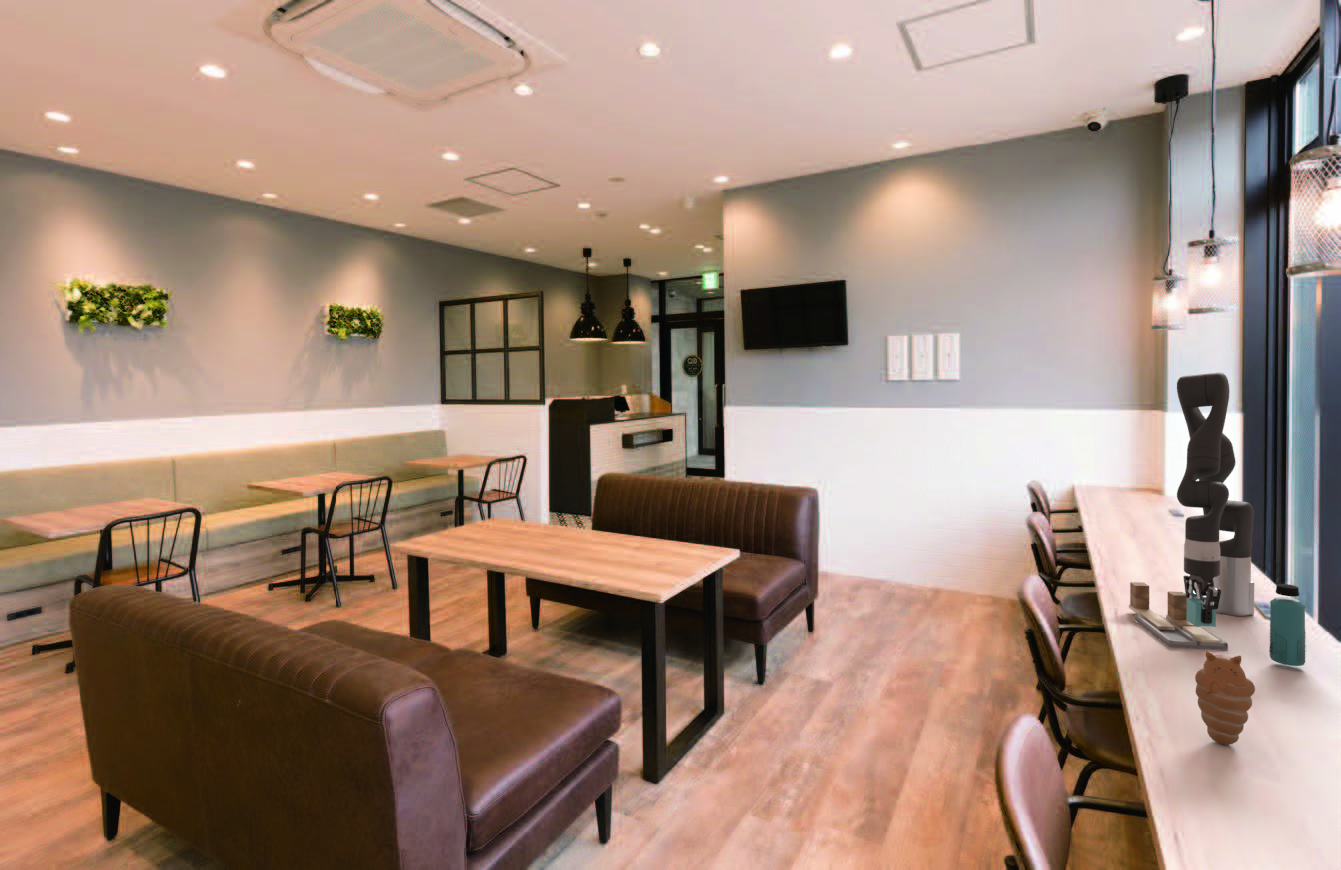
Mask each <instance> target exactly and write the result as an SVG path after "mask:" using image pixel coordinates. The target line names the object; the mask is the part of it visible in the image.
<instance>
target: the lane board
mask: <svg viewBox="0 0 1341 870" xmlns="http://www.w3.org/2000/svg"><path fill="white" fill-rule="evenodd" d="M1158 615H1159V616H1160V617H1162V618H1163V619H1165V620H1166V621H1167V622H1169V623H1170V624H1172V625H1173V626H1175V630H1158V629H1157V628H1155V627H1154V626H1153V625H1151V624H1150V623H1149V622H1147V621H1146V620H1145V619H1143V618H1142V617H1141V616H1139V615H1138V614H1137V613H1135V614H1134V621H1135V620H1136V621H1137V622H1138V623H1137V622H1136V621H1135V622H1136V623H1137V624H1139V623H1140V624H1141V625H1142V626H1143V627H1142V626H1141V625H1140V624H1139V625H1140V626H1141V627H1142V628H1143V629H1145V628H1146V629H1147V630H1146V629H1145V630H1146V631H1147V632H1149V631H1150V632H1151V633H1152V634H1151V633H1150V632H1149V633H1150V634H1151V635H1153V636H1154V635H1155V636H1156V637H1155V636H1154V637H1155V638H1156V639H1158V640H1159V639H1160V640H1161V641H1160V640H1159V641H1160V642H1162V643H1163V644H1164V643H1165V644H1164V645H1165V646H1167V647H1168V648H1169V647H1170V648H1171V649H1188V648H1189V649H1191V650H1192V649H1194V650H1195V649H1196V650H1216V651H1228V649H1229V644H1228V642H1227V641H1225V640H1223V639H1222V638H1220V637H1219V636H1217V635H1216V634H1214V633H1213V632H1211V631H1210V630H1208V629H1207V628H1205V627H1204V626H1197V627H1188V626H1183V628H1179V627H1178V626H1176V625H1175V624H1173V623H1172V622H1171V621H1169V620H1168V619H1166V616H1165V617H1164V615H1162V614H1158Z"/></svg>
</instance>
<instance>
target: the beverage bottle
mask: <svg viewBox="0 0 1341 870" xmlns="http://www.w3.org/2000/svg"><path fill="white" fill-rule="evenodd" d="M1275 594H1278V595H1280V596H1278V597H1275V598H1273V599H1271V600H1270V601H1269V604H1270V606H1269V607H1270V609H1269V610H1270V616H1269V617H1270V618H1269V619H1268V621H1269V650H1268V653H1269V657H1270V659H1271V661H1273V662H1275V663H1277V664H1281V665H1285V666H1294V667H1301V666H1304V665H1305V664H1306V637H1307V635H1306V634H1307V632H1306V605H1305V604H1304V603H1303V602H1301V600H1299V599H1296V598H1295V597H1299V596H1300V590H1299V586H1296V585H1293V584H1287V583H1278V584H1276V588H1275ZM1292 597H1294V598H1292Z"/></svg>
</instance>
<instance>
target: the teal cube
mask: <svg viewBox="0 0 1341 870" xmlns="http://www.w3.org/2000/svg"><path fill="white" fill-rule="evenodd" d="M1205 601H1206V600H1205ZM1187 621H1189V622H1190V623H1192V624H1193V625H1195V626H1202V627H1209V628H1210V627H1211V628H1216V627H1217V612H1216V609H1214V610H1212V623H1211V624H1204V623H1202V622H1201V604H1200V600H1198V599H1192V598H1187Z"/></svg>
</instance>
